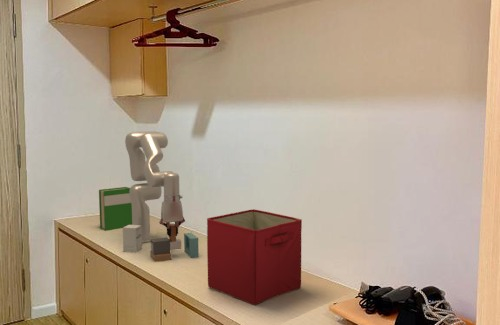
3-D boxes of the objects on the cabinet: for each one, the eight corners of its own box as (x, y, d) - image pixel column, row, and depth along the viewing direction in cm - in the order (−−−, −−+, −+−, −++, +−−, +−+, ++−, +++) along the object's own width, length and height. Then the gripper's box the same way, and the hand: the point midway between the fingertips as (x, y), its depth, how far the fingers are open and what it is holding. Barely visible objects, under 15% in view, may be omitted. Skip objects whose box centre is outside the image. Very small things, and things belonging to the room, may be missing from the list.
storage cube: (306, 289, 207) (307, 218, 204) (259, 308, 188) (259, 230, 185) (249, 271, 230) (249, 207, 227) (202, 287, 210) (201, 217, 207)
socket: (184, 251, 262) (184, 233, 261) (191, 251, 263) (191, 232, 262) (191, 258, 251) (190, 238, 250) (198, 257, 252) (198, 237, 251)
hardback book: (105, 230, 309) (103, 191, 306) (100, 228, 314) (98, 189, 312) (132, 226, 320) (131, 188, 317) (126, 224, 326) (125, 186, 323)
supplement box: (136, 252, 261) (135, 228, 260) (122, 251, 263) (122, 227, 262) (142, 248, 269) (141, 224, 267) (129, 248, 270) (128, 224, 269)
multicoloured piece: (151, 250, 251) (150, 225, 250) (179, 246, 257) (178, 223, 255) (152, 252, 247) (152, 227, 246) (181, 248, 253) (180, 224, 252)
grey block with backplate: (150, 256, 254) (150, 238, 253) (166, 254, 257) (166, 236, 256) (154, 261, 245) (154, 242, 244) (171, 259, 248) (171, 241, 247)
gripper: (185, 196, 257) (186, 232, 259) (153, 198, 251) (154, 235, 253) (190, 198, 250) (190, 235, 252) (157, 201, 244) (157, 239, 246)
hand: (172, 235), depth 253 cm, fingers closed on multicoloured piece, 2 cm apart
